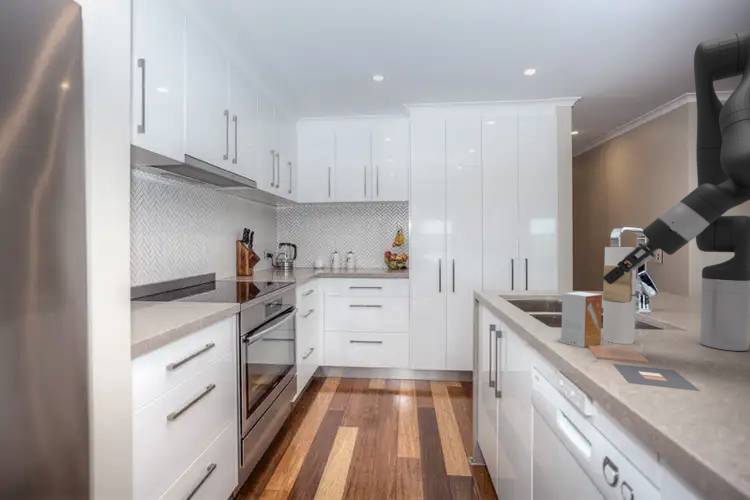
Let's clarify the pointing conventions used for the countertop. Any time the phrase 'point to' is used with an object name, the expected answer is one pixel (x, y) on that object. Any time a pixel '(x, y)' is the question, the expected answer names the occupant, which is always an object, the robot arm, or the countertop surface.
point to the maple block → (618, 287)
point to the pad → (617, 354)
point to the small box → (581, 319)
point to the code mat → (654, 377)
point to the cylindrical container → (619, 305)
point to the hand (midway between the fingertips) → (609, 280)
